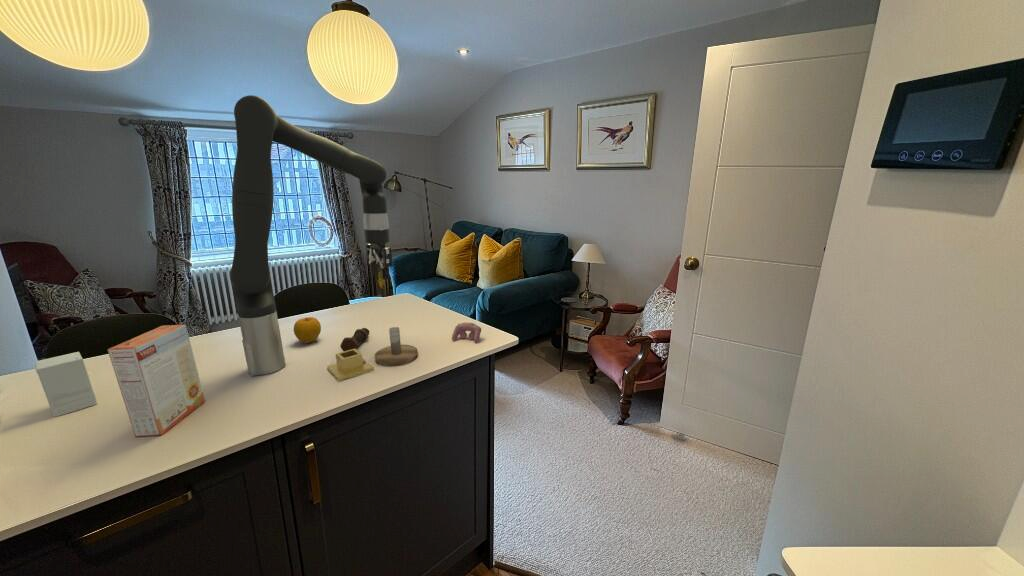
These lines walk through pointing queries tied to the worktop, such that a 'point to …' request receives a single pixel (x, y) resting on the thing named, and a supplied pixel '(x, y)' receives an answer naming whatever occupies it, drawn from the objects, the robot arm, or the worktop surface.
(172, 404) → the cracker box
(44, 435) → the worktop surface
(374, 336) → the worktop surface
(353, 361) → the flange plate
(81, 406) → the supplement box
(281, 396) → the worktop surface
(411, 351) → the post base
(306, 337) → the apple
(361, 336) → the dark brown dumbbell
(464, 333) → the purple arched piece
